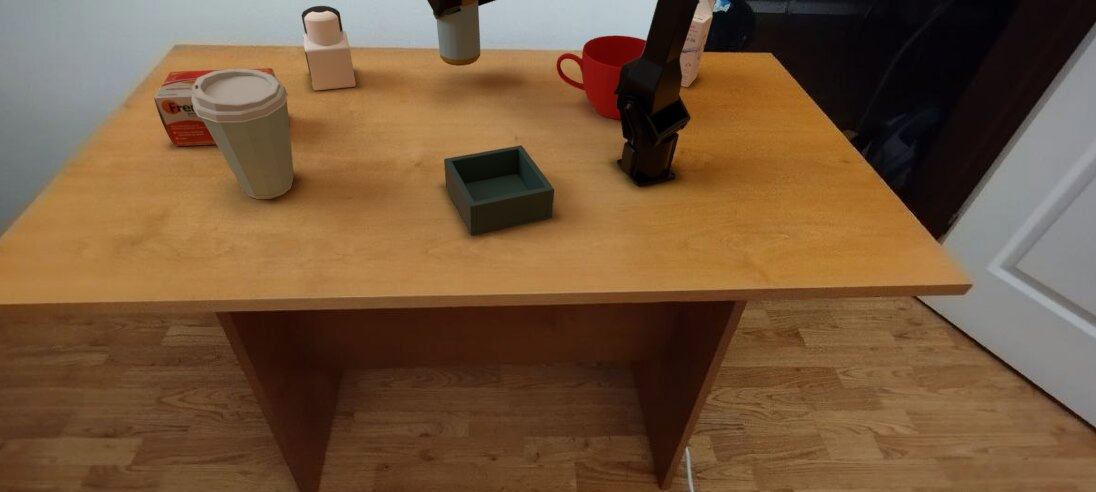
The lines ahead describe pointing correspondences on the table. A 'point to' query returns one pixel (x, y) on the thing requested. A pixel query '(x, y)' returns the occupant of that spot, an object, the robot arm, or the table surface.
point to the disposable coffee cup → (248, 127)
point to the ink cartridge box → (696, 41)
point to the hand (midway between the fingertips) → (451, 11)
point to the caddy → (498, 189)
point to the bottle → (460, 35)
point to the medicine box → (184, 108)
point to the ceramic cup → (603, 69)
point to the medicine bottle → (327, 49)
